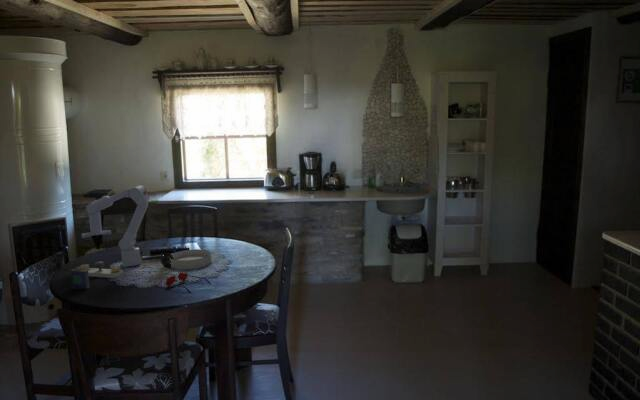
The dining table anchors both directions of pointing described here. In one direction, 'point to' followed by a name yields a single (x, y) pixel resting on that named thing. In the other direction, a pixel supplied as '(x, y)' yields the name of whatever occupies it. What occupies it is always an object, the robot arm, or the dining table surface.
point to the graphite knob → (99, 264)
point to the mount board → (103, 273)
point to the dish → (190, 259)
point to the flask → (80, 278)
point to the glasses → (182, 277)
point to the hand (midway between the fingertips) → (98, 248)
